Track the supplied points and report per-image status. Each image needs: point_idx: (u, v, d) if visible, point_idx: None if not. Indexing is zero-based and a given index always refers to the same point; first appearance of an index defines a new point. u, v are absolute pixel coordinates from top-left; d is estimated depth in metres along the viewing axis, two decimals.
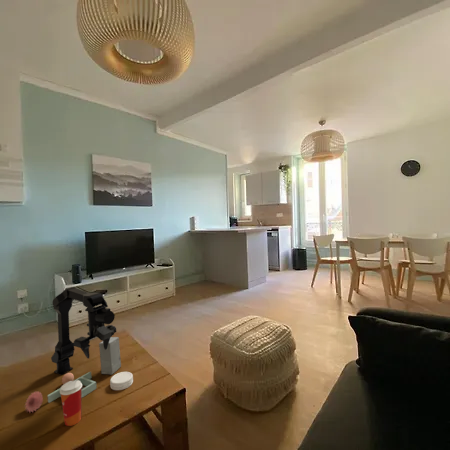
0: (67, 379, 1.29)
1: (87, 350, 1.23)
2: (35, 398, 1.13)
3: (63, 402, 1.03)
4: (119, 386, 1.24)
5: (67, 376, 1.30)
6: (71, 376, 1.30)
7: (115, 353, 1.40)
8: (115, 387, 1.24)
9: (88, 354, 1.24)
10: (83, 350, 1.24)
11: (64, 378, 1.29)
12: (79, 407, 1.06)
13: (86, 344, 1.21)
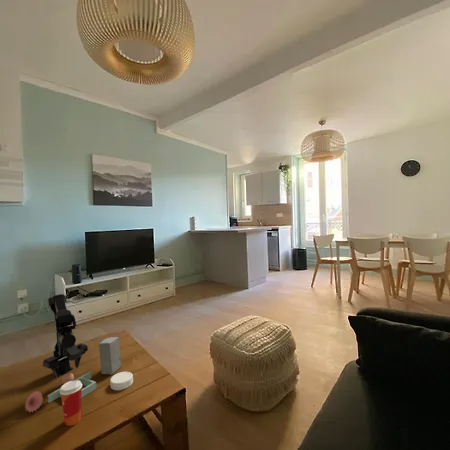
0: (67, 379, 1.29)
1: (56, 370, 1.25)
2: (35, 398, 1.13)
3: (63, 402, 1.03)
4: (119, 386, 1.24)
5: (67, 376, 1.30)
6: (71, 376, 1.30)
7: (115, 353, 1.40)
8: (115, 387, 1.24)
9: (57, 374, 1.26)
10: (52, 370, 1.26)
11: (64, 378, 1.29)
12: (79, 407, 1.06)
13: (55, 364, 1.23)
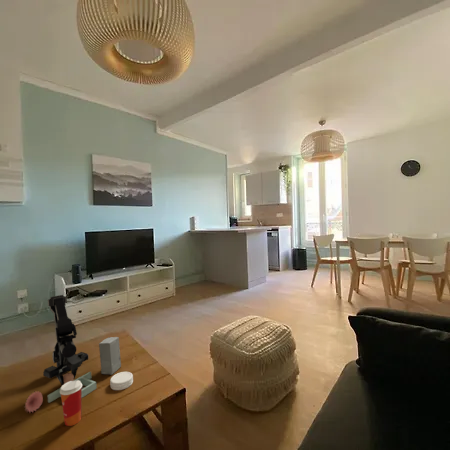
0: (67, 379, 1.29)
1: (61, 377, 1.27)
2: (35, 398, 1.13)
3: (63, 402, 1.03)
4: (119, 386, 1.24)
5: (67, 376, 1.30)
6: (71, 376, 1.30)
7: (115, 353, 1.40)
8: (115, 387, 1.24)
9: (62, 381, 1.28)
10: (57, 377, 1.28)
11: (64, 378, 1.29)
12: (79, 407, 1.06)
13: (55, 374, 1.23)
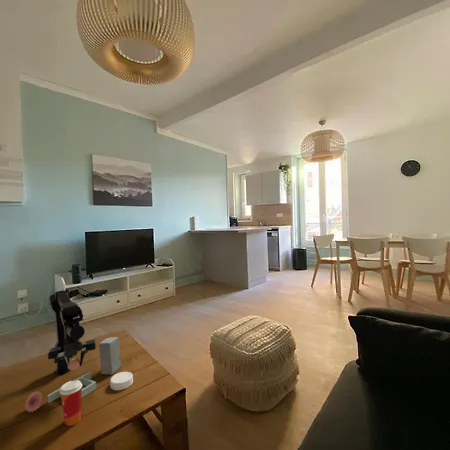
0: (69, 364, 1.23)
1: (64, 361, 1.22)
2: (35, 398, 1.13)
3: (63, 402, 1.03)
4: (119, 386, 1.24)
5: (71, 362, 1.23)
6: (74, 363, 1.23)
7: (115, 353, 1.40)
8: (115, 387, 1.24)
9: (66, 365, 1.23)
10: None
11: (68, 363, 1.24)
12: (79, 407, 1.06)
13: (53, 356, 1.19)
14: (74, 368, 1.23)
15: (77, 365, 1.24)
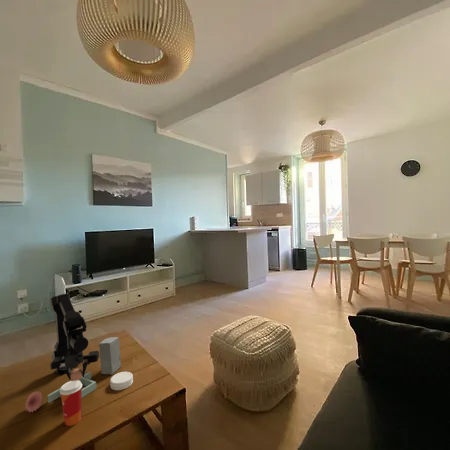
0: (72, 375, 1.22)
1: (66, 371, 1.22)
2: (35, 398, 1.13)
3: (63, 402, 1.03)
4: (119, 386, 1.24)
5: (73, 372, 1.23)
6: (76, 374, 1.22)
7: (115, 353, 1.40)
8: (115, 387, 1.24)
9: (68, 375, 1.22)
10: None
11: (71, 373, 1.23)
12: (79, 407, 1.06)
13: (56, 367, 1.19)
14: (76, 379, 1.22)
15: (79, 376, 1.23)
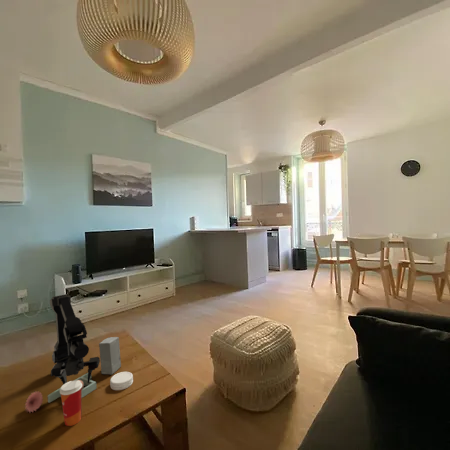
0: None
1: (62, 379, 1.21)
2: (35, 398, 1.13)
3: (63, 402, 1.03)
4: (119, 386, 1.24)
5: None
6: None
7: (115, 353, 1.40)
8: (115, 387, 1.24)
9: (64, 383, 1.22)
10: None
11: None
12: (79, 407, 1.06)
13: (56, 373, 1.19)
14: None
15: None
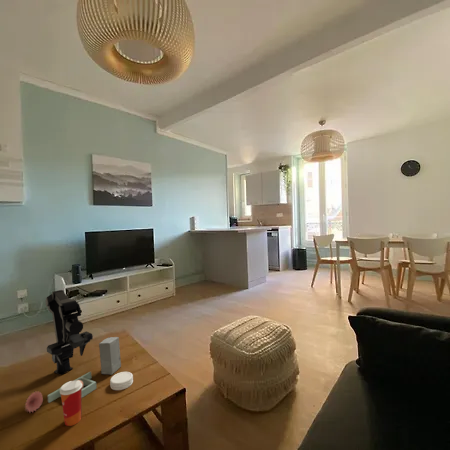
0: None
1: (59, 356, 1.25)
2: (35, 398, 1.13)
3: (63, 402, 1.03)
4: (119, 386, 1.24)
5: None
6: None
7: (115, 353, 1.40)
8: (115, 387, 1.24)
9: (61, 360, 1.26)
10: (56, 356, 1.27)
11: None
12: (79, 407, 1.06)
13: (57, 351, 1.23)
14: None
15: None
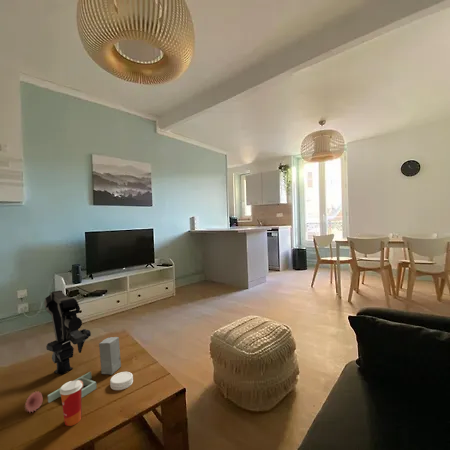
0: None
1: (60, 354, 1.27)
2: (35, 398, 1.13)
3: (63, 402, 1.03)
4: (120, 386, 1.24)
5: None
6: None
7: (115, 353, 1.40)
8: (115, 387, 1.24)
9: (61, 357, 1.28)
10: (56, 354, 1.28)
11: None
12: (79, 407, 1.06)
13: (58, 348, 1.25)
14: None
15: None
